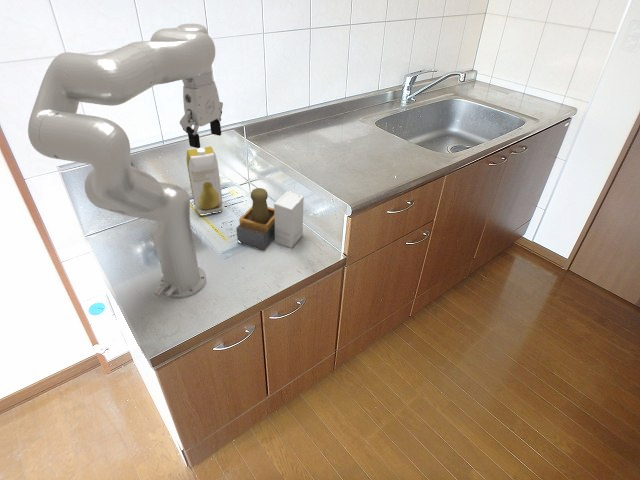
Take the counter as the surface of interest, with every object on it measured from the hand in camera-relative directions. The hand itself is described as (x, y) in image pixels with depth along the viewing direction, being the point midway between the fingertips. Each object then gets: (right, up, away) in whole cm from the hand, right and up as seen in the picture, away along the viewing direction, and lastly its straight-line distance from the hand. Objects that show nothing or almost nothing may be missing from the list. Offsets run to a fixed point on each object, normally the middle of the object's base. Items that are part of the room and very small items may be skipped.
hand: (206, 140), depth 116 cm
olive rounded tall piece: (+13, -22, +16) cm, 30 cm away
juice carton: (-7, -18, +30) cm, 35 cm away
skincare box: (+22, -28, +19) cm, 40 cm away
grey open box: (+13, -26, +20) cm, 35 cm away
